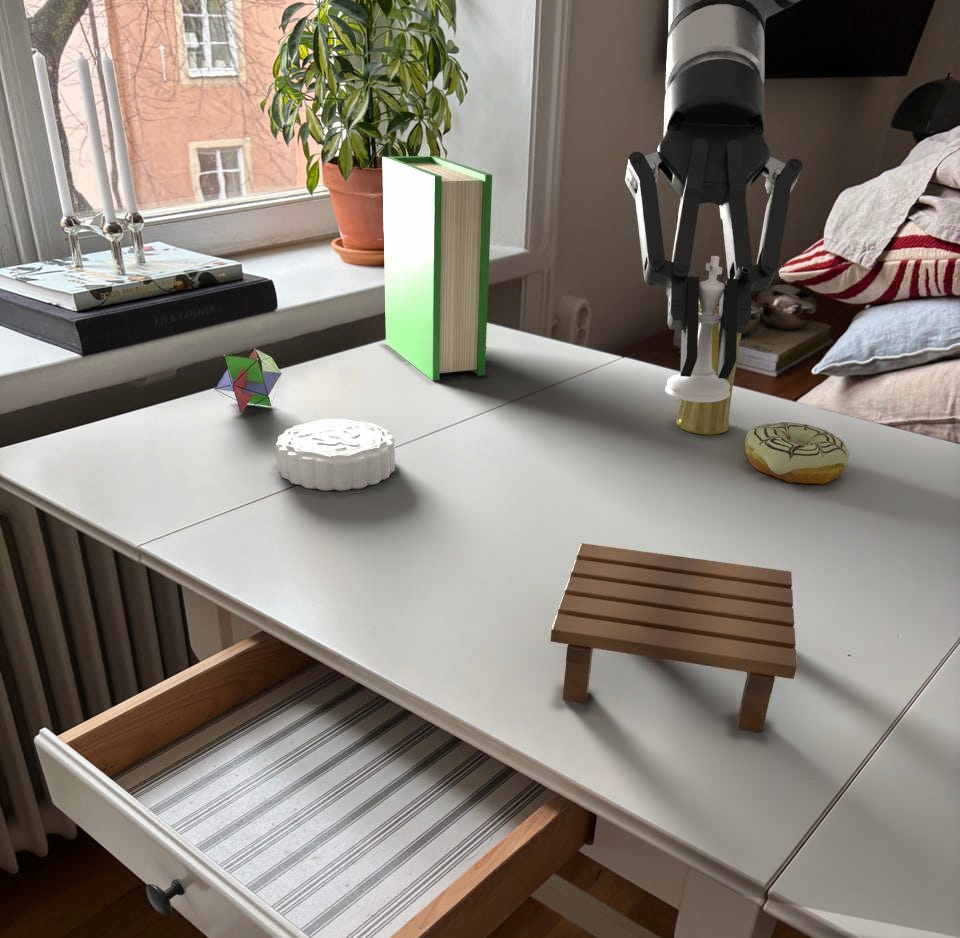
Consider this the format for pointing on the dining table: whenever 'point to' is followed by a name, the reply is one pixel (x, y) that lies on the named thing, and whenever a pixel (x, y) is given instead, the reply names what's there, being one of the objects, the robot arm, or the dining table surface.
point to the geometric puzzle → (249, 379)
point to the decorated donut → (796, 452)
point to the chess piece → (704, 348)
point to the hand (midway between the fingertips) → (707, 368)
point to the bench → (679, 618)
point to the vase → (708, 414)
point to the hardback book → (436, 262)
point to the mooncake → (335, 454)
